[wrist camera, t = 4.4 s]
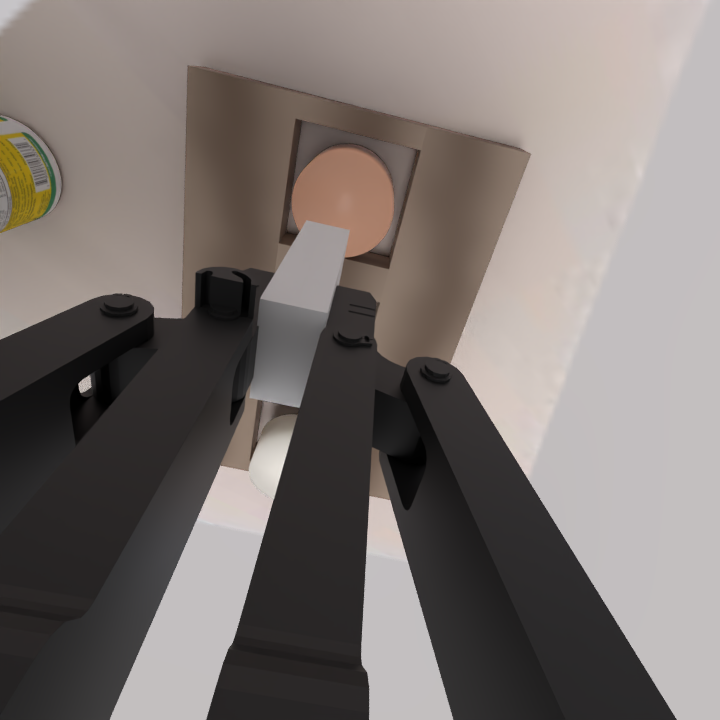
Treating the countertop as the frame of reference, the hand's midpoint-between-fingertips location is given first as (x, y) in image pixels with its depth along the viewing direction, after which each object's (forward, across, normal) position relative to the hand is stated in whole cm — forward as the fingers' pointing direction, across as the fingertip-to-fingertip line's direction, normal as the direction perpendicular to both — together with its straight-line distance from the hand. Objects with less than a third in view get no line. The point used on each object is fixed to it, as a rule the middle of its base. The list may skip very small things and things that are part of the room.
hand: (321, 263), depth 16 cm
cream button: (+8, 0, -16) cm, 17 cm away
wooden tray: (+10, 0, -8) cm, 13 cm away
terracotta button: (+10, 0, 0) cm, 10 cm away
